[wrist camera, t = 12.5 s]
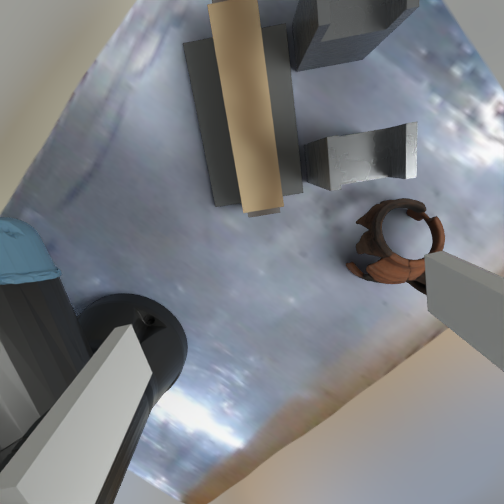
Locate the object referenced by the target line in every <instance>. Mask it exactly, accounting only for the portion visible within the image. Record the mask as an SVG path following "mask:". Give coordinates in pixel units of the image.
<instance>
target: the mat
mask: <svg viewBox="0 0 504 504" xmlns="http://www.w3.org/2000/svg"><path fill="white" fill-rule="evenodd" d="M261 33H262V40H263V48H264V56H265V64H266V71H267V79H268V87H269V95H270V102H271V110H272V118H273V126H274V133H275V141H276V149H277V157H278V165H279V172H280V180H281V188H282V196H287V195H293V194H299V193H303V185H302V175H301V165H300V156H299V146H298V137H297V127H296V117H295V108H294V98H293V89H292V79H291V69H290V60H289V50H288V40H287V31H286V23H285V24H279V25H274V26H269V27H264V28H261ZM183 46H184V51H185V56H186V61H187V66H188V71H189V76H190V81H191V86H192V91H193V96H194V101H195V106H196V111H197V116H198V121H199V126H200V131H201V136H202V141H203V146H204V151H205V156H206V161H207V166H208V171H209V176H210V181H211V186H212V191H213V196H214V201H215V206H216V207H219V206H225V205H231V204H238V203H242V201H241V196H240V190H239V184H238V178H237V173H236V167H235V161H234V155H233V150H232V144H231V138H230V132H229V127H228V121H227V115H226V109H225V104H224V98H223V92H222V86H221V81H220V75H219V69H218V63H217V58H216V52H215V46H214V40H213V38H208V39H203V40H198V41H192V42H187V43H183Z"/></svg>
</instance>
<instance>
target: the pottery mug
mask: <svg viewBox="0 0 504 504" xmlns="http://www.w3.org/2000/svg"><path fill="white" fill-rule="evenodd" d="M395 208H407V209H408V210H407V215H408V216H410V217H411V218H413V219H415V220H417V221H420V220H422V219H424V220H425V221H426V223H427V224H428V226H429V228H430V230H431V234H432V240H433V243H432V248H431V250H430V252H429V253H428V254H431V253H435V252H439V251H442V250H443V248H444V242H445V235H444V229H443V226H442V223H441V221H440V220H439V218H438V217H437V216H436V217H433V218H429V217H428V216H427V215H426V214H425V213H424V212H425V211H426V207H425V204H423V203H422V202H419V201H417V200H412V199H406V198H402V199H397V200H387V201H382V202H380V204H376V205H374V206H373V207H372V208H371V209H370V210H369V211H368V212H367V213H366V214H365V215H364V216H363V217H361V218H360V219H359V220H357V221H356V224H361V225H362V226H364V227H366V228H367V229H369V230H368V231H367V232H365V233H364V234H363V235H362V236H361V238H360V241H359V242H358V243H357V244H356V251H357V253H358V254H364V253H366V254H368V255H374V256H378V257H381V259H380V260H378V261H377V262H375V263H373V264H370V265H368V266H367V268H366V271H367V272H368V274H364V273H363V272H362V271H361V270H360V269H359V268H358V267H357V266H356V265H355V264H354V263H353V262H350V263H346V266H347V268H348V269H349V270H350V271H351V272H352V273H353V274H355V275H356V276H358V277H359V278H362V279H364V280H367V281H373V282H378V283H385V284H400V283H405V282H407V283H409V284H410V285H411V286H413V287H414V288H415V289H417V290H418V291H420V292H422V293H423V294H425V295H427V290H426V274H425V258H422V259H418V260H410V259H406V258H403V257H401V256H399V255H397V254H396V253H394V252H392V250H391V249H390V248H389V247H388V245H387V244H386V242H385V240H384V237H383V234H382V222H383V219H384V218H385V216H386V214H387V213H388V212H389V211H391V210H393V209H395Z"/></svg>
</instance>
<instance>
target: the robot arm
mask: <svg viewBox="0 0 504 504" xmlns="http://www.w3.org/2000/svg"><path fill="white" fill-rule="evenodd" d="M424 258H425V274H426V290H427V306H428V311H429V312H430V313H431V314H432V315H434V316H435V317H436V318H437V319H439V320H440V321H441V322H442V323H444V324H445V325H446V326H447V327H449V328H450V329H451V330H453V331H454V332H455V333H456V334H457V335H459V336H460V337H461V338H462V339H464V340H465V341H466V342H467V343H469V344H470V345H471V346H472V347H474V348H475V349H476V350H477V351H479V352H480V353H481V354H482V355H483V356H485V357H486V358H487V359H488V360H490V361H491V362H492V363H493V364H495V365H496V366H497V367H499V368H500V369H501V370H502V371H503V372H504V278H503V277H501V276H499V275H497V274H494V273H492V272H490V271H488V270H485V269H483V268H481V267H478V266H476V265H474V264H472V263H469V262H467V261H465V260H462V259H460V258H458V257H456V256H453V255H451V254H449V253H447V252H444V251H439V252H435V253H431V254H426V255H424ZM61 275H62V273H61V270H60V269H59V268H57V267H55V265H54V263H53V261H52V259H51V257H50V255H49V253H48V251H47V249H46V247H45V245H44V243H43V241H42V239H41V238H40V236H39V234H38V233H37V231H36V230H35V229H34V228H33V227H32V226H30V225H29V224H28V223H26V222H24V221H21V220H18V219H15V218H10V217H0V504H113V503H114V500H115V498H116V495H117V493H118V490H119V488H120V486H121V483H122V481H123V478H124V476H125V473H126V471H127V468H128V466H129V464H130V461H131V459H132V456H133V454H134V451H135V449H136V446H137V444H138V441H139V439H140V437H141V434H142V432H143V429H144V427H145V424H146V422H147V419H148V417H149V414H150V412H151V409H152V408H153V407H154V405H155V404H156V403H157V402H158V400H159V399H160V398H161V396H162V395H163V394H164V393H165V392H166V391H167V390H169V389H170V388H171V387H172V386H173V384H174V383H175V382H176V381H177V379H178V377H179V376H180V374H181V372H182V369H183V366H184V363H185V360H186V357H187V349H188V346H187V339H186V335H185V332H184V330H183V328H182V326H181V324H180V323H179V321H178V320H177V319H176V317H175V316H174V315H173V314H172V313H171V312H170V311H169V310H168V309H166V308H165V307H164V306H162V305H161V304H159V303H157V302H155V301H153V300H151V299H148V298H146V297H142V296H138V295H133V294H116V295H110V296H106V297H103V298H101V299H99V300H97V301H95V302H94V303H92V304H91V305H89V306H88V307H87V308H86V309H85V310H84V311H83V312H81V313H80V314H79V315H78V316H77V317H76V314H75V312H74V310H73V308H72V305H71V303H70V301H69V298H68V296H67V293H66V291H65V289H64V286H63V284H62V282H61V279H60V277H59V276H61Z"/></svg>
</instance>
